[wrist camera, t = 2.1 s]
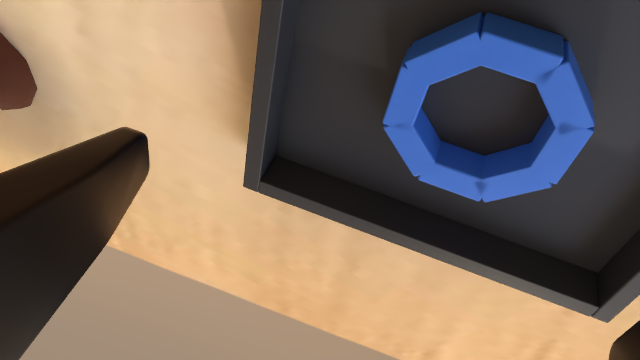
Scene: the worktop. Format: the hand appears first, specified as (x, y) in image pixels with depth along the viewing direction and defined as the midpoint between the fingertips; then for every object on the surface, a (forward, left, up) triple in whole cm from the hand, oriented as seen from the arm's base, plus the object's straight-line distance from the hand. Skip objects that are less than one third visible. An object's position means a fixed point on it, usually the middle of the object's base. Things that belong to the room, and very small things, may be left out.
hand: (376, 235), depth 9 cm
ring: (-3, +4, -12) cm, 13 cm away
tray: (-3, +4, -13) cm, 14 cm away
